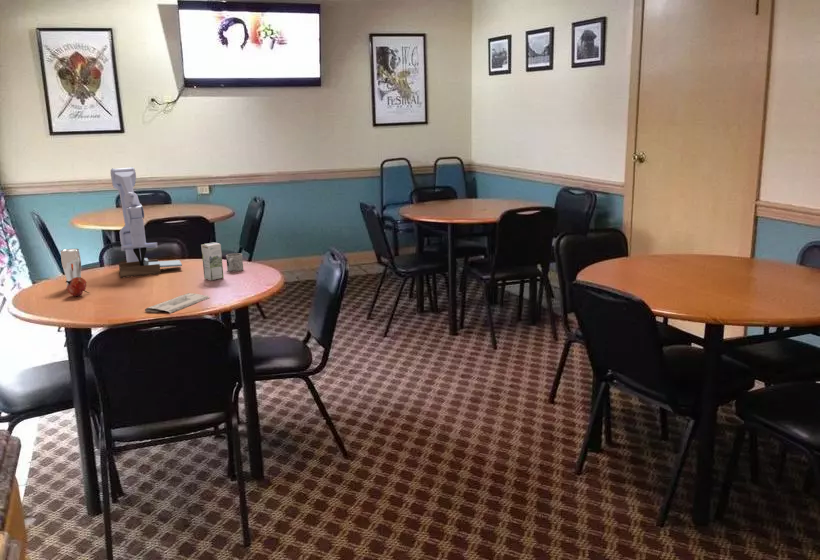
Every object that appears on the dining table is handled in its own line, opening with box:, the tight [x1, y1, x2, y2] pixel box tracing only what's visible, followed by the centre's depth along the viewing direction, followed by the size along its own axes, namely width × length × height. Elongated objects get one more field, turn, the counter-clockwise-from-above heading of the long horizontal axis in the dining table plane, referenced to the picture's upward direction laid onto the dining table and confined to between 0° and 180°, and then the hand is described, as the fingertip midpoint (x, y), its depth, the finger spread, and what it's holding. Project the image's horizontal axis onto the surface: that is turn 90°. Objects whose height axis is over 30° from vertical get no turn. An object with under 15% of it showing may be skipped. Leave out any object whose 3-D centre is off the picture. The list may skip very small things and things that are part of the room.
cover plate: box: [144, 257, 183, 268], centre depth 309 cm, size 11×15×3 cm
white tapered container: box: [60, 248, 82, 286], centre depth 282 cm, size 7×7×15 cm
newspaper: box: [144, 292, 210, 315], centre depth 249 cm, size 23×12×2 cm, turn 159°
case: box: [118, 258, 161, 279], centre depth 306 cm, size 13×16×4 cm
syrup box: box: [200, 242, 224, 281], centre depth 286 cm, size 6×6×14 cm
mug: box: [225, 252, 244, 272], centre depth 302 cm, size 10×7×7 cm
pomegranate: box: [65, 276, 90, 297], centre depth 268 cm, size 7×7×10 cm
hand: (141, 265), depth 306 cm, fingers closed
